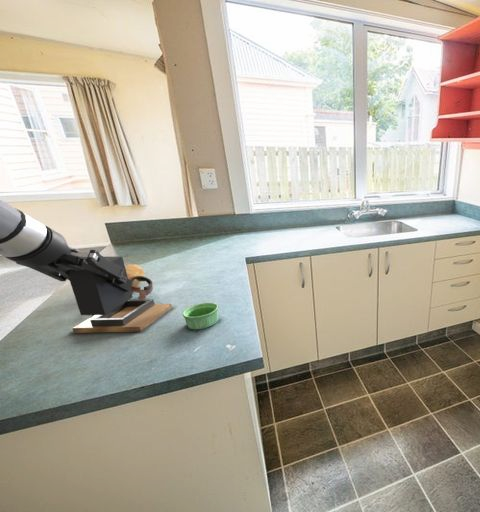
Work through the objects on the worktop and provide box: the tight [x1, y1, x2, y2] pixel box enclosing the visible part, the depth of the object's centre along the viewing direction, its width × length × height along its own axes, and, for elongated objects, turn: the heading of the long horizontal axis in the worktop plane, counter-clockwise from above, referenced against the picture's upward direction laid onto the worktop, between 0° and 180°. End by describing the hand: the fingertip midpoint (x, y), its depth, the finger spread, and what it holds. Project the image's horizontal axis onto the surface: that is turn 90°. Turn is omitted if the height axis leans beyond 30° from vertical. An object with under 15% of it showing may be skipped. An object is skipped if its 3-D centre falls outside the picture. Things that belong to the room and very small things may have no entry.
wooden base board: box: [71, 298, 173, 334], centre depth 89 cm, size 18×14×4 cm
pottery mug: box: [128, 276, 154, 300], centre depth 102 cm, size 12×10×8 cm
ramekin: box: [182, 302, 220, 330], centre depth 87 cm, size 9×9×4 cm
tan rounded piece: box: [124, 263, 146, 286], centre depth 111 cm, size 10×14×8 cm
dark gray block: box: [68, 256, 133, 316], centre depth 69 cm, size 5×9×11 cm, turn 6°
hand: (116, 286), depth 73 cm, fingers closed on dark gray block, 5 cm apart
